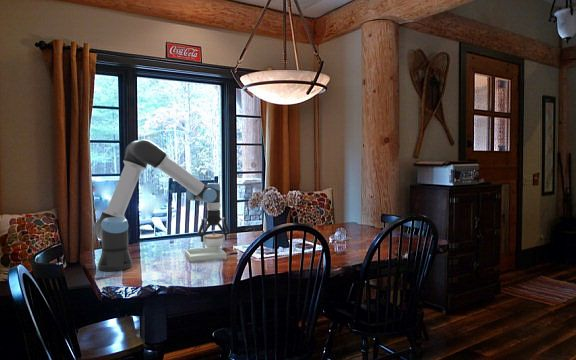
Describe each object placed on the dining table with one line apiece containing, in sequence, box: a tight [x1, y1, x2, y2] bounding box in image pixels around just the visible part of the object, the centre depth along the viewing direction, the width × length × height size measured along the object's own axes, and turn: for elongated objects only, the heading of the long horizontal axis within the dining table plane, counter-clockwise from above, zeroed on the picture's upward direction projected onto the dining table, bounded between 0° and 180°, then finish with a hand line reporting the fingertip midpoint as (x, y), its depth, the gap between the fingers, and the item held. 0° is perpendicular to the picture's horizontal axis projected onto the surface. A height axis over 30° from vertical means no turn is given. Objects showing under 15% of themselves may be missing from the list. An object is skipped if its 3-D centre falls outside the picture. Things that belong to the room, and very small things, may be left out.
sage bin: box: [184, 247, 228, 263], centre depth 218 cm, size 19×19×3 cm
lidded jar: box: [204, 232, 224, 249], centre depth 240 cm, size 11×11×9 cm
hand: (213, 246), depth 240 cm, fingers open, 11 cm apart
